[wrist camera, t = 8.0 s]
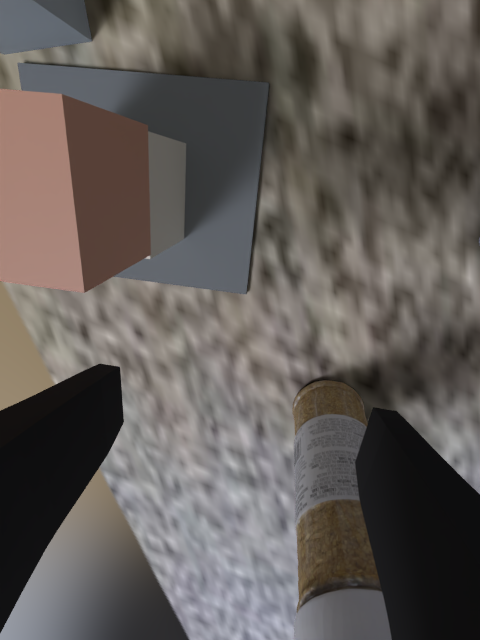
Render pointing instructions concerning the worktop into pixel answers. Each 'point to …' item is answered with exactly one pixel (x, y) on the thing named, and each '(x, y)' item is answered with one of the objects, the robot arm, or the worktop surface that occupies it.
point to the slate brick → (42, 24)
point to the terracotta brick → (70, 191)
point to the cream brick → (166, 192)
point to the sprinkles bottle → (333, 520)
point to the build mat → (187, 160)
